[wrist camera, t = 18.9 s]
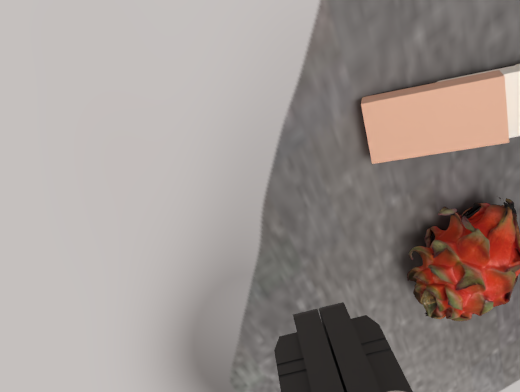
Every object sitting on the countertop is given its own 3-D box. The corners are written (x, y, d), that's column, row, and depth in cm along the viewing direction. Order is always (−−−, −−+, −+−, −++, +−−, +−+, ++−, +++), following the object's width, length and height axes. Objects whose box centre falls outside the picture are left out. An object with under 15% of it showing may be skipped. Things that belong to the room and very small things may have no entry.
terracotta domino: (362, 97, 39) (499, 69, 36) (372, 154, 41) (503, 133, 38) (360, 104, 37) (504, 75, 34) (372, 163, 39) (509, 142, 36)
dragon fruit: (391, 284, 48) (462, 180, 46) (471, 340, 45) (550, 230, 43) (379, 292, 40) (464, 167, 38) (475, 361, 37) (572, 228, 35)
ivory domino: (437, 81, 39) (580, 52, 36) (444, 139, 41) (580, 117, 38) (439, 87, 37) (589, 57, 34) (446, 147, 39) (590, 124, 36)
